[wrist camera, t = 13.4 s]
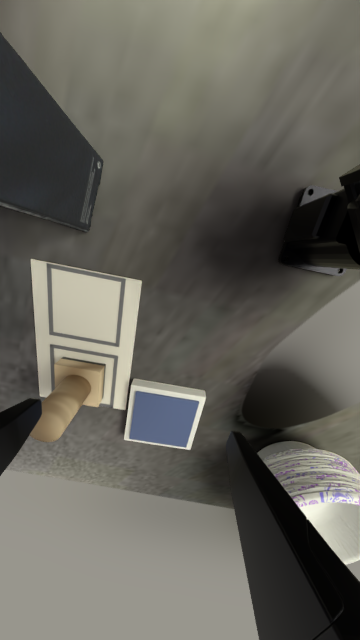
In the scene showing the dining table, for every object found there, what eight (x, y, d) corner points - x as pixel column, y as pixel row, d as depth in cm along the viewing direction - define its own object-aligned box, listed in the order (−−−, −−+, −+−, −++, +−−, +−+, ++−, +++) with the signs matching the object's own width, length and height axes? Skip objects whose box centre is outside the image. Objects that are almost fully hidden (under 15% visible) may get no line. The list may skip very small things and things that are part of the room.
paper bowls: (236, 499, 30) (254, 580, 23) (226, 432, 25) (244, 505, 18) (332, 489, 29) (385, 570, 22) (340, 417, 24) (411, 488, 17)
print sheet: (142, 280, 19) (141, 281, 18) (125, 408, 24) (125, 410, 24) (32, 258, 18) (29, 258, 18) (40, 395, 24) (39, 396, 23)
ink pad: (204, 390, 23) (206, 399, 22) (189, 441, 26) (190, 452, 25) (133, 378, 23) (130, 386, 21) (126, 431, 26) (123, 442, 24)
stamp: (105, 364, 22) (72, 410, 15) (103, 397, 23) (72, 452, 17) (63, 356, 22) (10, 401, 15) (63, 390, 23) (16, 444, 17)
